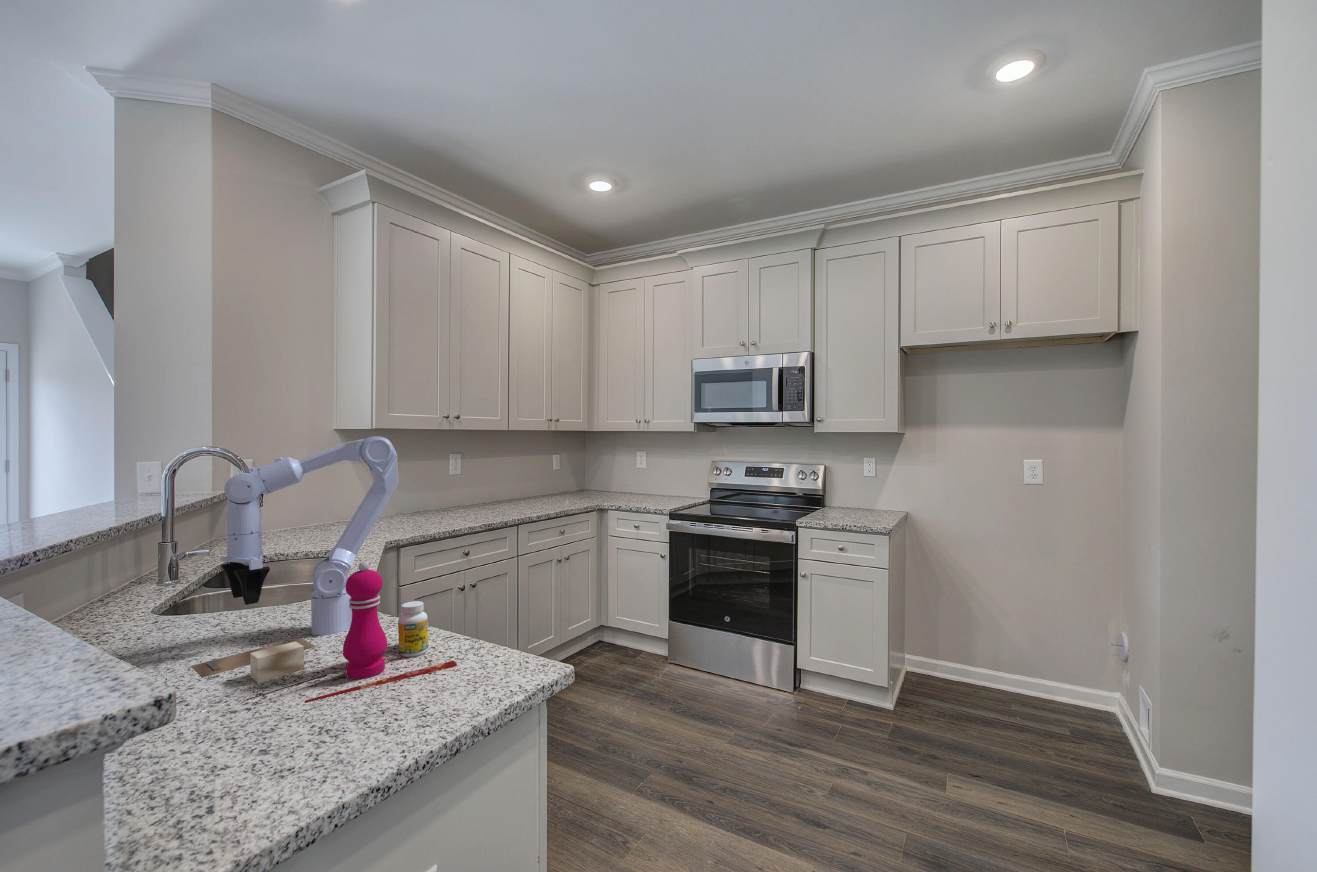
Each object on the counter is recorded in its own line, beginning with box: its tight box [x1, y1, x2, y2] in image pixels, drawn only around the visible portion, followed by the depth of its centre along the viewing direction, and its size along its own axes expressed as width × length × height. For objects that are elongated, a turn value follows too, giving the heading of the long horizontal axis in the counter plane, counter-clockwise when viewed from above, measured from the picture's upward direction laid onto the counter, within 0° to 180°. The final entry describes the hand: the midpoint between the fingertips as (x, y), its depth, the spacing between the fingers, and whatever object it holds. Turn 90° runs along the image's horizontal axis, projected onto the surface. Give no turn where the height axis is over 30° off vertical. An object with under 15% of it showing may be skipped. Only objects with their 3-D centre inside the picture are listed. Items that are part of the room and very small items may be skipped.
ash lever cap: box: [250, 641, 305, 684], centre depth 101 cm, size 7×4×5 cm, turn 141°
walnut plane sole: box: [190, 637, 317, 678], centre depth 109 cm, size 18×8×1 cm, turn 140°
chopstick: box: [304, 660, 458, 704], centre depth 100 cm, size 2×24×1 cm, turn 128°
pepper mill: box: [342, 561, 388, 680], centre depth 104 cm, size 7×7×20 cm
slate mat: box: [246, 674, 328, 701], centre depth 101 cm, size 12×10×1 cm
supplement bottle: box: [397, 600, 429, 658], centre depth 113 cm, size 5×5×10 cm
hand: (245, 599), depth 116 cm, fingers open, 7 cm apart
